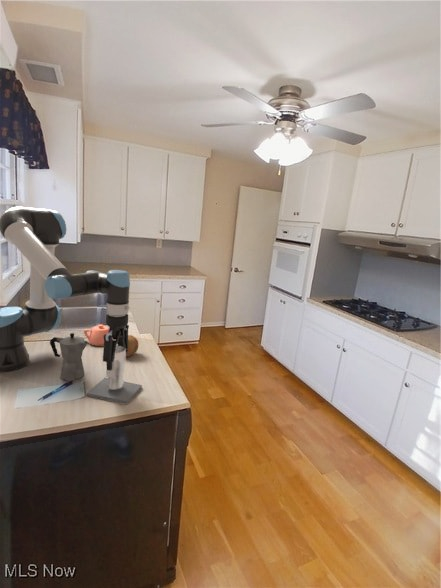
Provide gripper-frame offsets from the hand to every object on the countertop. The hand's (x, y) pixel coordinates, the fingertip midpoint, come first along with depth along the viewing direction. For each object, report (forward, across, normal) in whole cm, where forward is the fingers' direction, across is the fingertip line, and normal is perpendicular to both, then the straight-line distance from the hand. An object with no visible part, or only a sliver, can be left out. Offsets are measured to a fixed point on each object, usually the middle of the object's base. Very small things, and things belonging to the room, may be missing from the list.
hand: (115, 372), depth 114 cm
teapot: (+8, +40, +30) cm, 51 cm away
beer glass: (+6, 0, 0) cm, 6 cm away
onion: (+8, +31, +11) cm, 34 cm away
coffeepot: (+8, +5, +23) cm, 25 cm away
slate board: (+8, 0, 0) cm, 8 cm away
